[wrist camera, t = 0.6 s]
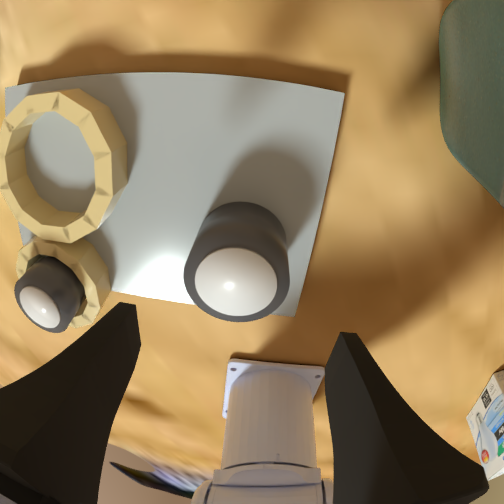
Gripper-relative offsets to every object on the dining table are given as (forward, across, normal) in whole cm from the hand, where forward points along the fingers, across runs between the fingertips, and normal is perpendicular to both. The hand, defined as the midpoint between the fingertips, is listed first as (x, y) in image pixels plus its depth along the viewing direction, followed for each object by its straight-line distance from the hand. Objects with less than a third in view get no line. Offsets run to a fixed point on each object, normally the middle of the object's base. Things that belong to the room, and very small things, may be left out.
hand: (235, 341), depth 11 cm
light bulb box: (+10, -34, +17) cm, 39 cm away
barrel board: (+9, +6, 0) cm, 11 cm away
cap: (+8, 0, +1) cm, 8 cm away
